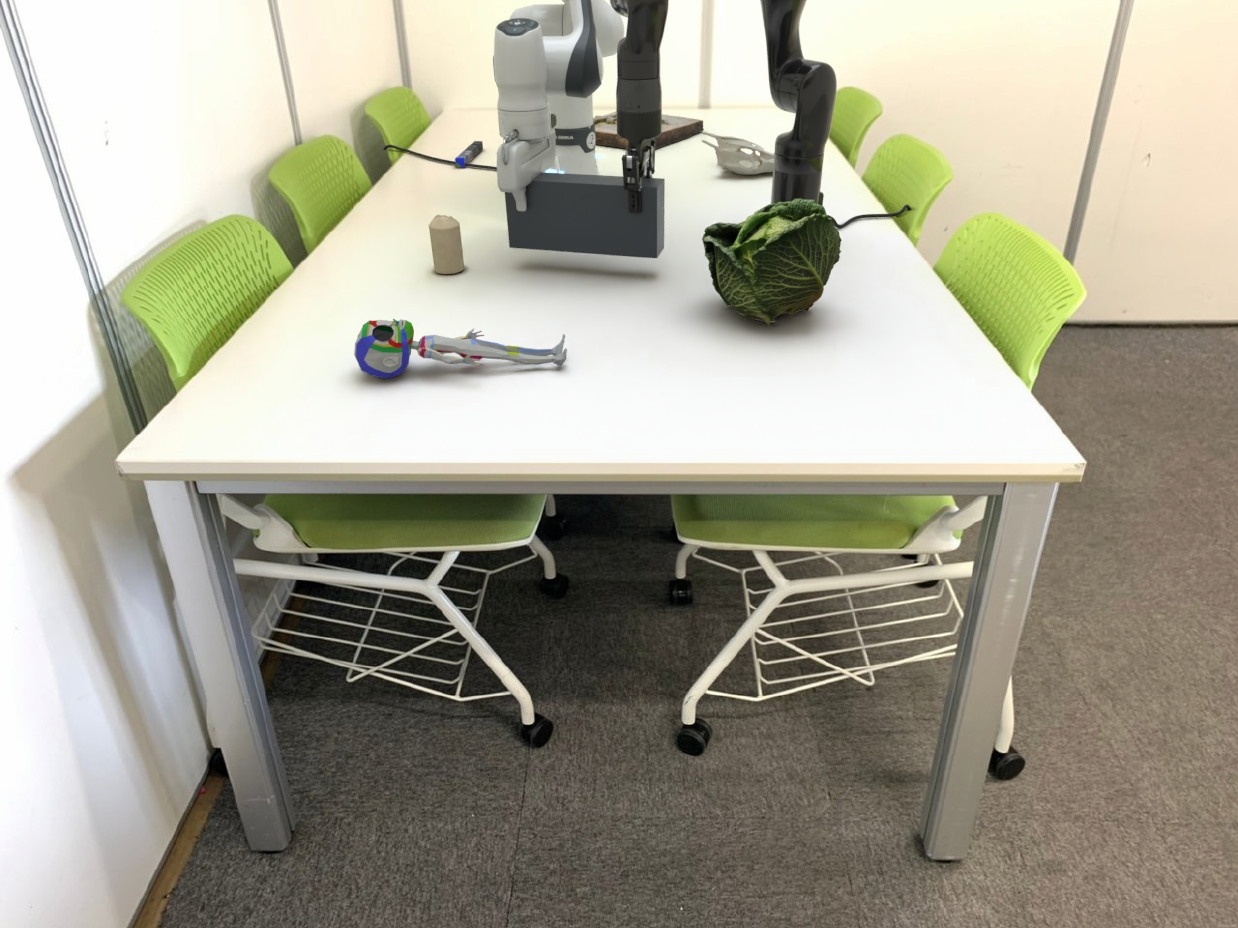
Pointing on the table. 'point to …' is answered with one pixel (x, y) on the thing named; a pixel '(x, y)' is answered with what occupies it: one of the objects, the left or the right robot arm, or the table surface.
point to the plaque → (671, 132)
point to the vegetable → (773, 259)
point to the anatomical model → (741, 155)
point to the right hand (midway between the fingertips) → (639, 207)
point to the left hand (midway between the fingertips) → (529, 204)
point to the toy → (435, 349)
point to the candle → (446, 244)
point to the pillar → (468, 154)
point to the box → (587, 216)
